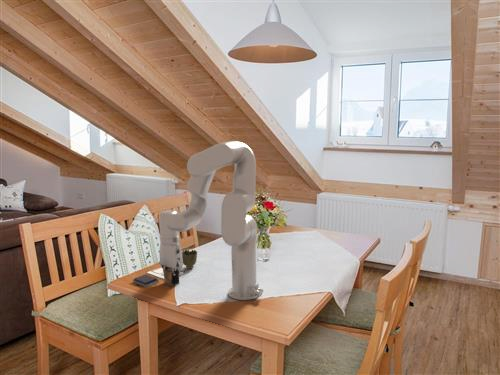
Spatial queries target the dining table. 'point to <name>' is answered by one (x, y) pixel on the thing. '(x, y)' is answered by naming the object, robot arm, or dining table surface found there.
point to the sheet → (159, 273)
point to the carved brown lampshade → (189, 258)
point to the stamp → (168, 277)
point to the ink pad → (145, 280)
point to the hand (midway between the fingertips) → (171, 281)
